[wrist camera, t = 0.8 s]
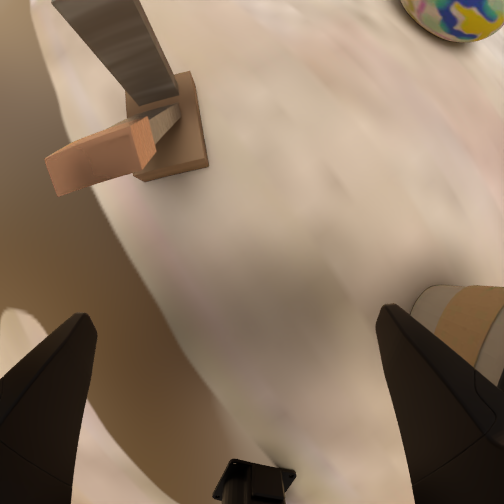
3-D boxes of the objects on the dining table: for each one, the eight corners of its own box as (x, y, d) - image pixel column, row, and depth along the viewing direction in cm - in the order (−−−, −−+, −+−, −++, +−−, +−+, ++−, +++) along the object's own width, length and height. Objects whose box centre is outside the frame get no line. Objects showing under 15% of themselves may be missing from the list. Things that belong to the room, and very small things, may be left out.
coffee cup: (476, 264, 22) (607, 284, 7) (462, 361, 23) (568, 426, 8) (394, 264, 22) (548, 297, 7) (381, 375, 22) (483, 484, 8)
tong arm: (183, 118, 18) (142, 170, 8) (138, 130, 18) (57, 196, 8) (179, 99, 18) (129, 126, 8) (133, 112, 18) (44, 158, 8)
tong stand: (209, 166, 21) (146, 53, 7) (144, 181, 21) (11, 113, 7) (195, 85, 21) (145, -57, 6) (135, 102, 21) (39, -11, 6)
